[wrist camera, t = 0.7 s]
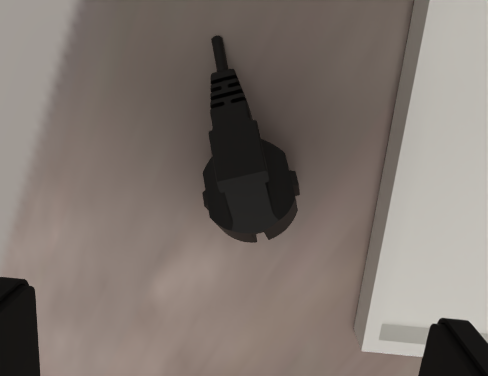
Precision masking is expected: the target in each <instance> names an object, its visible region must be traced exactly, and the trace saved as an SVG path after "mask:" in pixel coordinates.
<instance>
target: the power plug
mask: <svg viewBox="0 0 488 376" xmlns="http://www.w3.org/2000/svg"><path fill="white" fill-rule="evenodd" d="M212 45H213V51H214V56H215V61H216V67H217V72H216V73H213V74H212V75H211V92H212V93H211V110H210V114H211V120H212V126H213V130H212V131H209V139H210V144H211V150H212V158H211V159H210V161H209V162H208V164H207V165H206V167H205V169H204V171H203V177H204V183H205V191H204V192H203V199H204V206H205V207H206V208H207V209H208V210H209V215H210V218H211V219H212V220H213V221H214V222H215V223H216V224H217V225H218V226H219V227H220V228H221V229H222V230H223V231H224V232H225V233H226V234H228V235H229V236H231V237H232V238H235V239H237V240H240V241H243V242H257V237H256V234H258V233H262V232H264V233H265V235H266V236H267V238H268V240H270V239H272V238H274V237H276V236H278V235H279V234H281V233H282V232H283V231H284V230H286V229H287V228H288V226H289V225H290V224H291V223H292V221H293V220H294V218H295V216H296V213H297V211H298V209H297V204H296V199H295V196H297V195H300V192H299V185H298V181H297V176H296V172H295V171H290V170H289V169H288V164H287V160H286V156H285V153H284V152H283V151H282V150H280V149H279V148H278V147H276V146H274V145H273V144H271V143H269V142H267V141H265V140H263V139H261V138H260V134H259V130H258V125H257V121H256V120H253V119H252V115H251V112H250V109H249V106H248V103H247V101H246V98H245V95H244V93H243V90H242V88H241V86H240V83H239V80H238V78H237V75H236V73H235V70H234V69H228V65H227V60H226V55H225V50H224V45H223V40H222V37H221V36H215V37H213V38H212Z"/></svg>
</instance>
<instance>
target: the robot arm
mask: <svg viewBox="0 0 488 376" xmlns="http://www.w3.org/2000/svg"><path fill="white" fill-rule="evenodd" d="M0 376H40V363H39V347H38V331H37V314H36V298H35V289H34V287H32V286H29V284H28V282H27V281H26V280H25V279H17V278H6V277H0ZM418 376H488V343H487V342H486V340H485V339H484V338H483V337H482V336H481V334H480V333H479V332H478V331H477V330H476V329H475V327H474V326H473V325H472V324H471V323H470V322H469V321H468V320H460V319H449V318H441V319H439V321H438V322H437V324H435V323H433V324H432V325H431V326H430V329H429V333H428V337H427V341H426V345H425V350H424V354H423V358H422V363H421V367H420V371H419V375H418Z"/></svg>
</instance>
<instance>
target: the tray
mask: <svg viewBox="0 0 488 376" xmlns="http://www.w3.org/2000/svg"><path fill="white" fill-rule="evenodd" d="M441 318H449V319H460V320H468V321H469V322H470V323H471V324H472V325H473V326H474V327H475V329H476V330H477V331H478V332H479V333H480V334H481V336H482V337H483V338H484V339H485V340H486V342H487V343H488V0H415V1H414V6H413V11H412V17H411V22H410V28H409V33H408V38H407V44H406V49H405V55H404V60H403V65H402V71H401V76H400V81H399V87H398V92H397V98H396V103H395V108H394V114H393V119H392V125H391V130H390V135H389V141H388V146H387V151H386V157H385V162H384V168H383V173H382V178H381V184H380V189H379V194H378V200H377V205H376V211H375V216H374V221H373V227H372V232H371V238H370V243H369V248H368V254H367V259H366V264H365V270H364V275H363V281H362V286H361V291H360V297H359V302H358V308H357V313H356V318H355V324H354V332H355V335H356V337H357V340H358V343H359V346H360V349H361V351H366V352H377V353H387V354H397V355H407V356H418V357H423V354H424V350H425V345H426V341H427V337H428V333H429V329H430V326H431V325H432V324H433V323H435V324H437V322H438V321H439V319H441Z"/></svg>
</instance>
